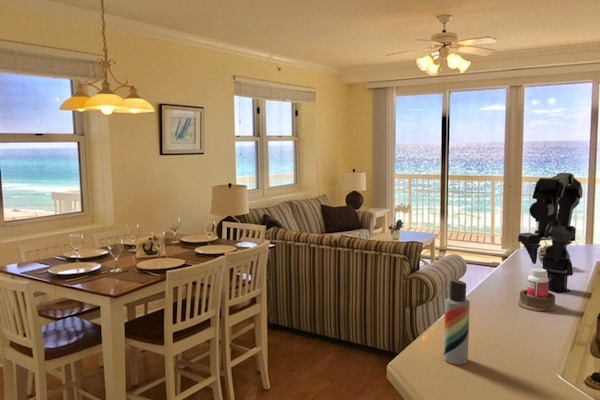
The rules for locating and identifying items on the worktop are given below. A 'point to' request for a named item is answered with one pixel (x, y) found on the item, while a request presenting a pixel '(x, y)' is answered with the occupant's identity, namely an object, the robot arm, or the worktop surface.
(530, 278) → the pill bottle
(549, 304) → the collar stand
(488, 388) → the worktop surface
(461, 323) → the lotion bottle
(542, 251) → the pine cone
